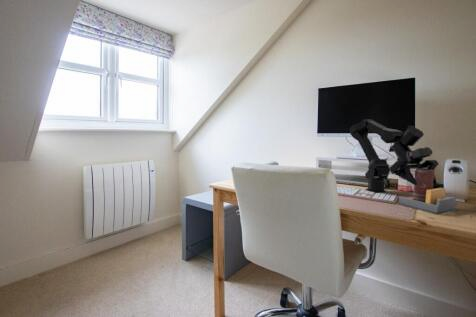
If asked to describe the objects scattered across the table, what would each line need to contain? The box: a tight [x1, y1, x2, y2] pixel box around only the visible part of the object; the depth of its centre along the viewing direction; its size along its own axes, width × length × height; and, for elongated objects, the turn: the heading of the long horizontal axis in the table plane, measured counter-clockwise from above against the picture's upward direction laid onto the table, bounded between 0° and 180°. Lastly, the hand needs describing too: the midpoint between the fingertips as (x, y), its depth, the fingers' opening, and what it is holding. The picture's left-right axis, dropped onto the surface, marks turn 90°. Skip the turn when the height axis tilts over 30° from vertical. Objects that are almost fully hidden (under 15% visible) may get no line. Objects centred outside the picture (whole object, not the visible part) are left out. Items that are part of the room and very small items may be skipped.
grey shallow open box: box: [398, 196, 457, 215], centre depth 100 cm, size 14×12×5 cm
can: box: [412, 169, 436, 203], centre depth 102 cm, size 6×6×14 cm
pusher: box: [426, 187, 446, 205], centre depth 97 cm, size 2×9×7 cm, turn 114°
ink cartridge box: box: [397, 169, 416, 193], centre depth 127 cm, size 9×5×15 cm, turn 111°
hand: (425, 183), depth 100 cm, fingers open, 9 cm apart
